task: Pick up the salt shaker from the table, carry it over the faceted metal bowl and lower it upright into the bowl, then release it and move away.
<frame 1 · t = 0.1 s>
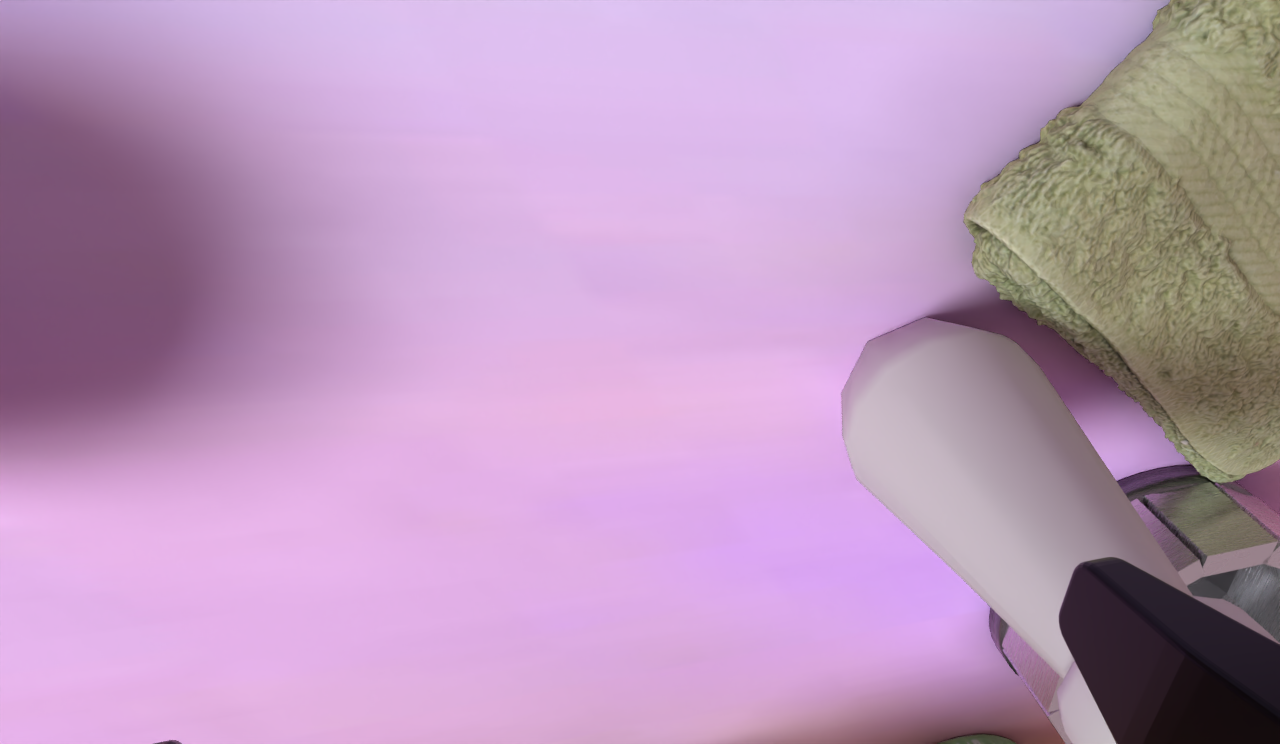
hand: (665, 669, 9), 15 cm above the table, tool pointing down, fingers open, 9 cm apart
faceted metal bowl: (1119, 575, 35), on the table
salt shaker: (903, 373, 27), on the table
washcloth: (1237, 209, 27), on the table
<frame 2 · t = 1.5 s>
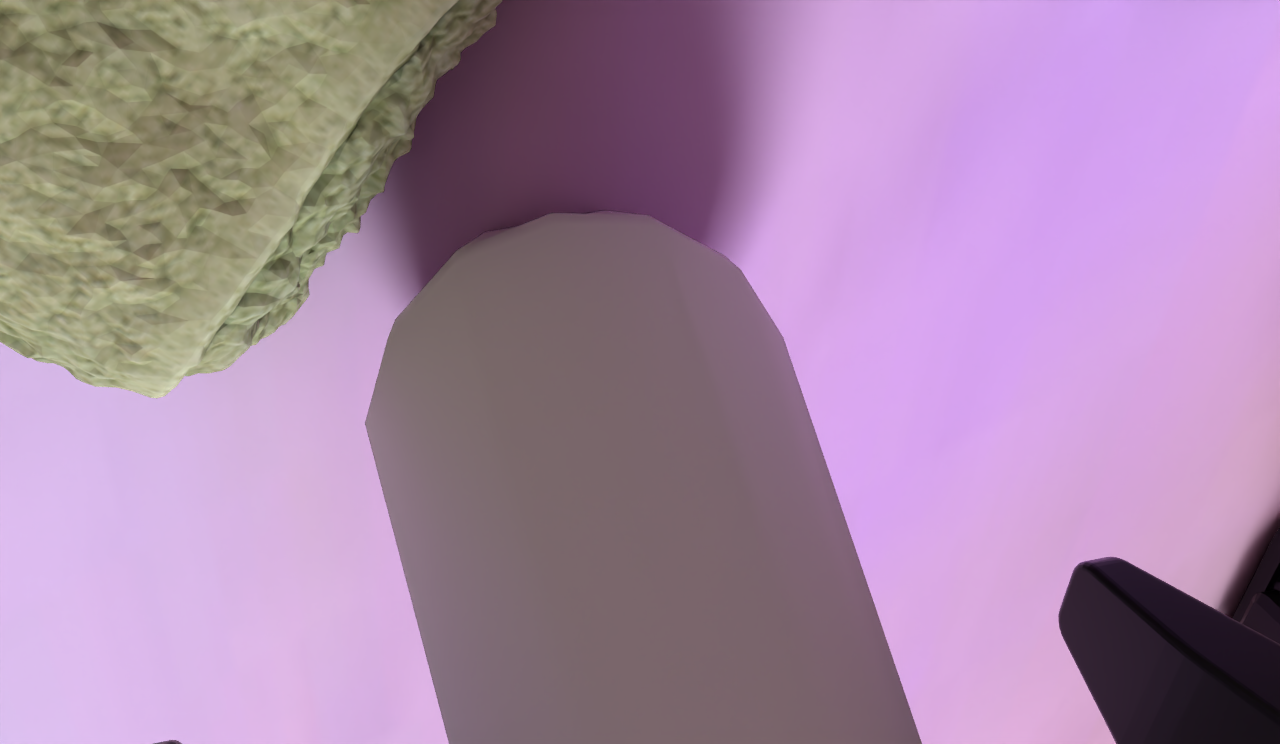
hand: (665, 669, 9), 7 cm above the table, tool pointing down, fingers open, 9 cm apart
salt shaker: (560, 322, 14), on the table
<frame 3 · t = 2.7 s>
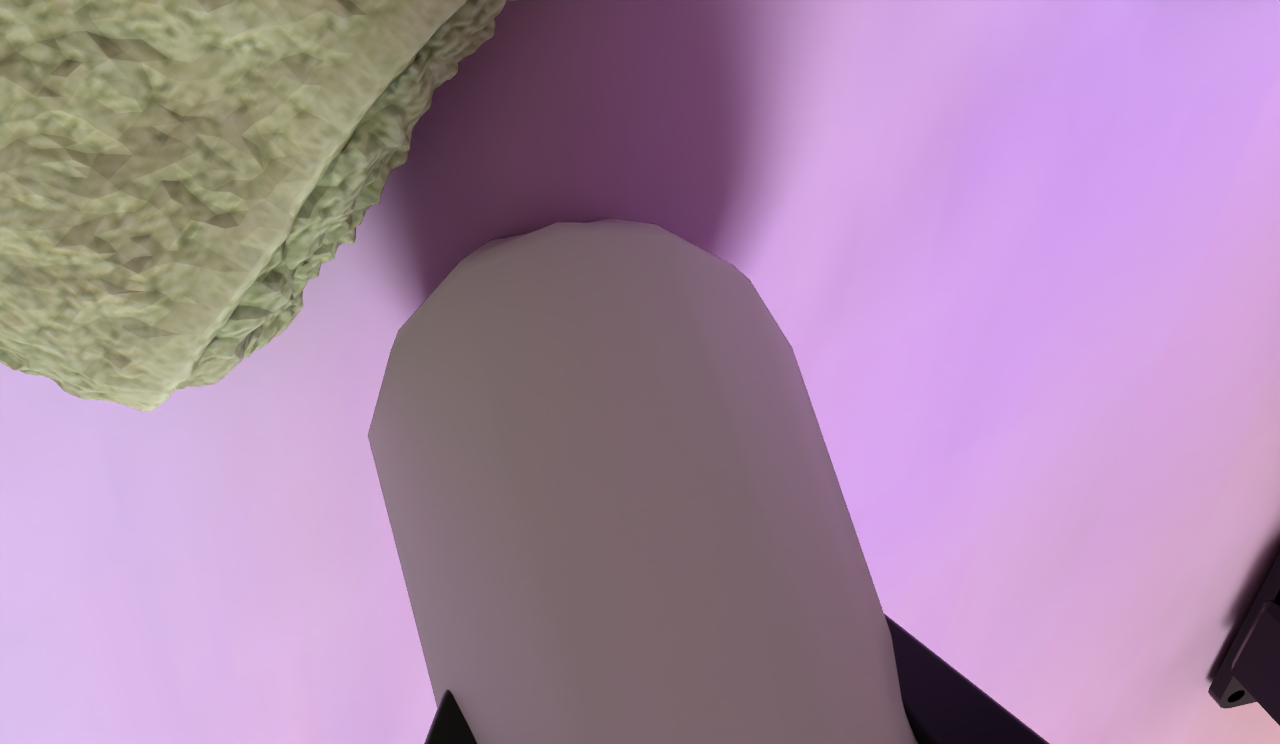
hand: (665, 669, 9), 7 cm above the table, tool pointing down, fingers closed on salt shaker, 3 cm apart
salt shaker: (565, 331, 14), on the table, touching gripper
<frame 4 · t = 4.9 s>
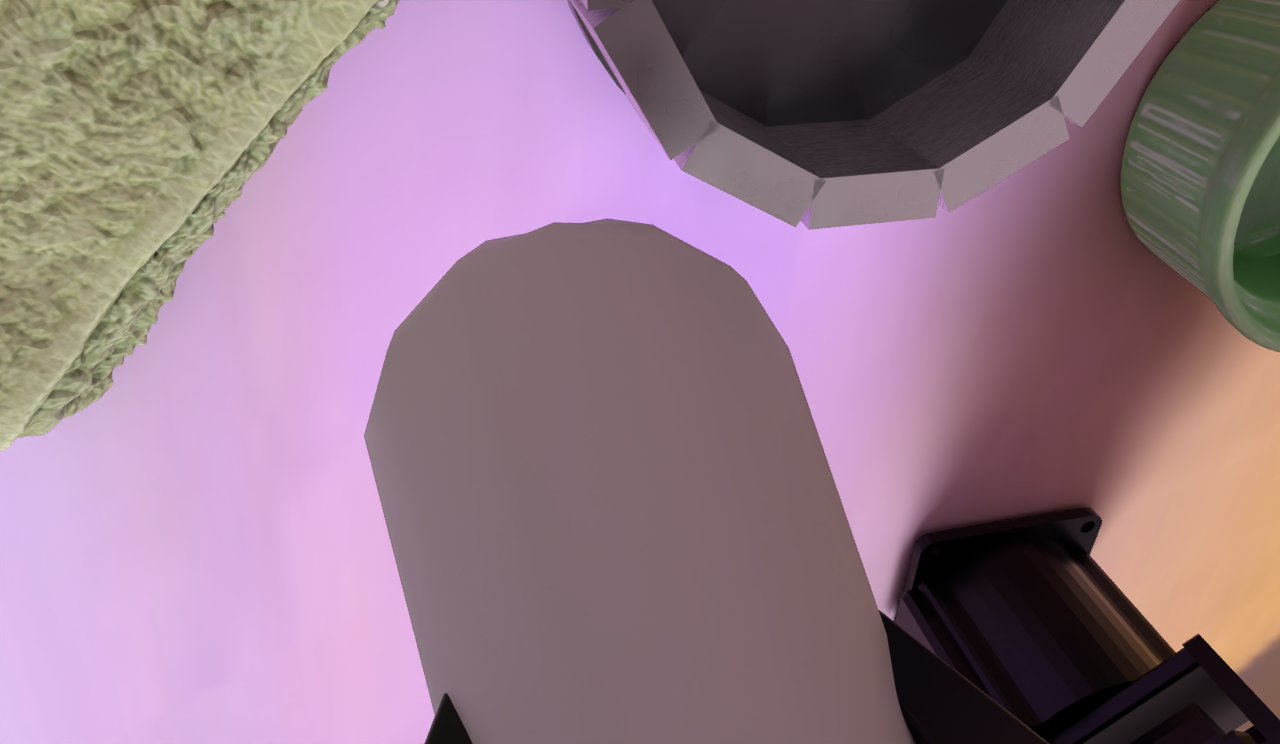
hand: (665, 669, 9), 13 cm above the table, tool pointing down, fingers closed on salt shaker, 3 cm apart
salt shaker: (562, 331, 14), point 6 cm above the table, touching gripper
ramekin: (1251, 115, 23), on the table
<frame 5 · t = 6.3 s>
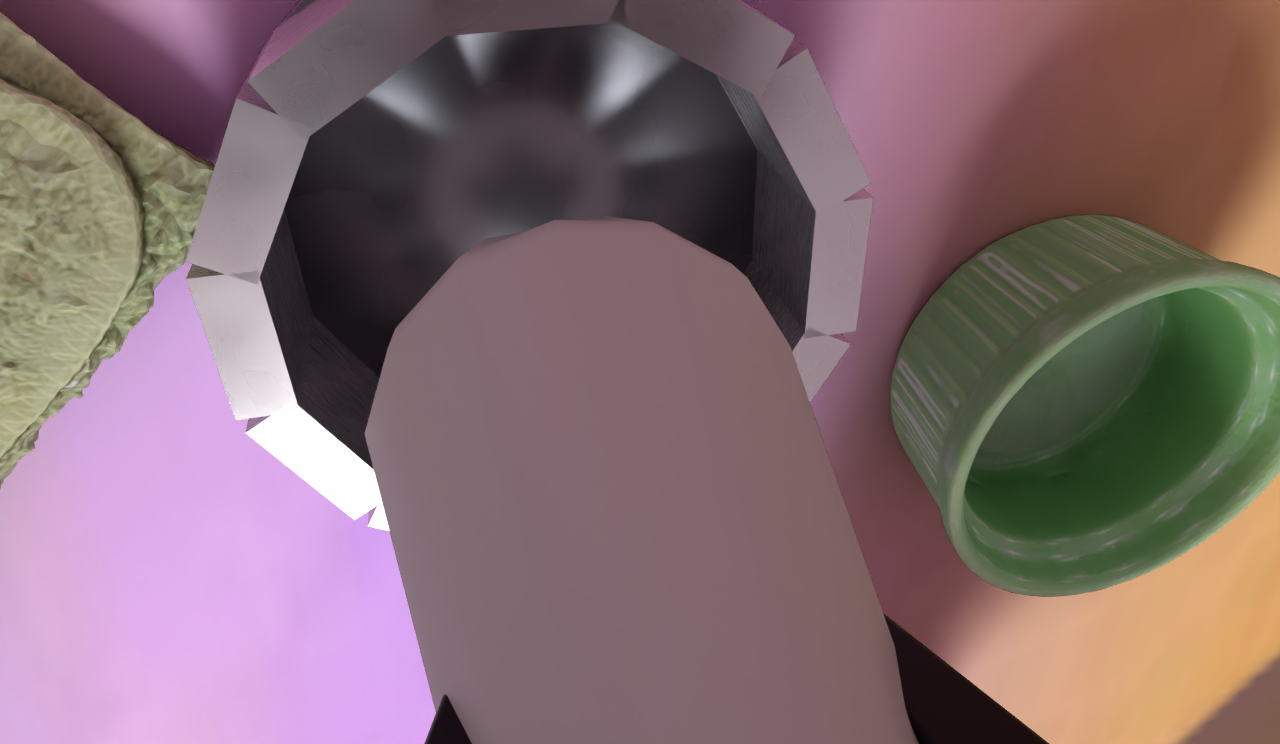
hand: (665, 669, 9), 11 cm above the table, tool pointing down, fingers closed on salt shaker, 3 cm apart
faceted metal bowl: (530, 211, 18), on the table
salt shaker: (563, 329, 14), point 5 cm above the table, touching gripper
ramekin: (1023, 347, 23), on the table
when the fingers open (9 cm above the table, at t = 7.4 s): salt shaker drops 1 cm, resting on faceted metal bowl.
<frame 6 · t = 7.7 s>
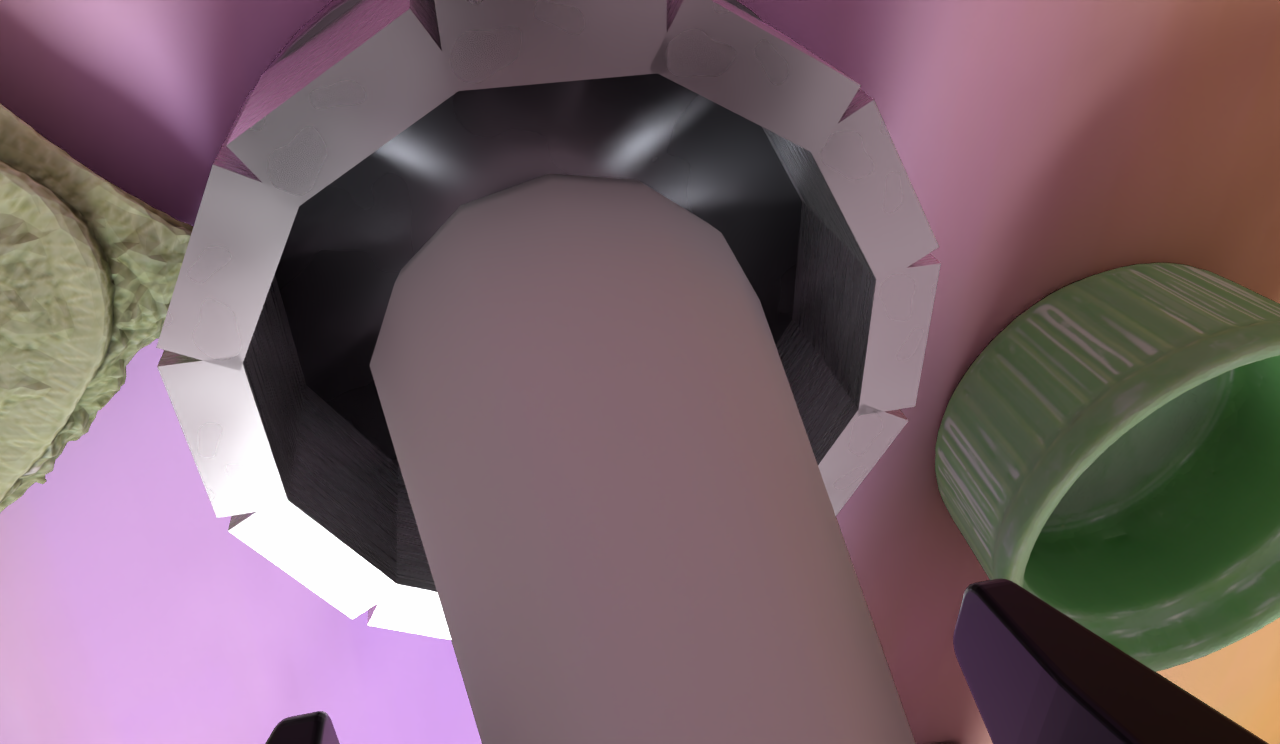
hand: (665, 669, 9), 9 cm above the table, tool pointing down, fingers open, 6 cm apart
faceted metal bowl: (547, 267, 16), on the table
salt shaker: (553, 292, 15), point 1 cm above the table, touching faceted metal bowl
ramekin: (1078, 401, 22), on the table
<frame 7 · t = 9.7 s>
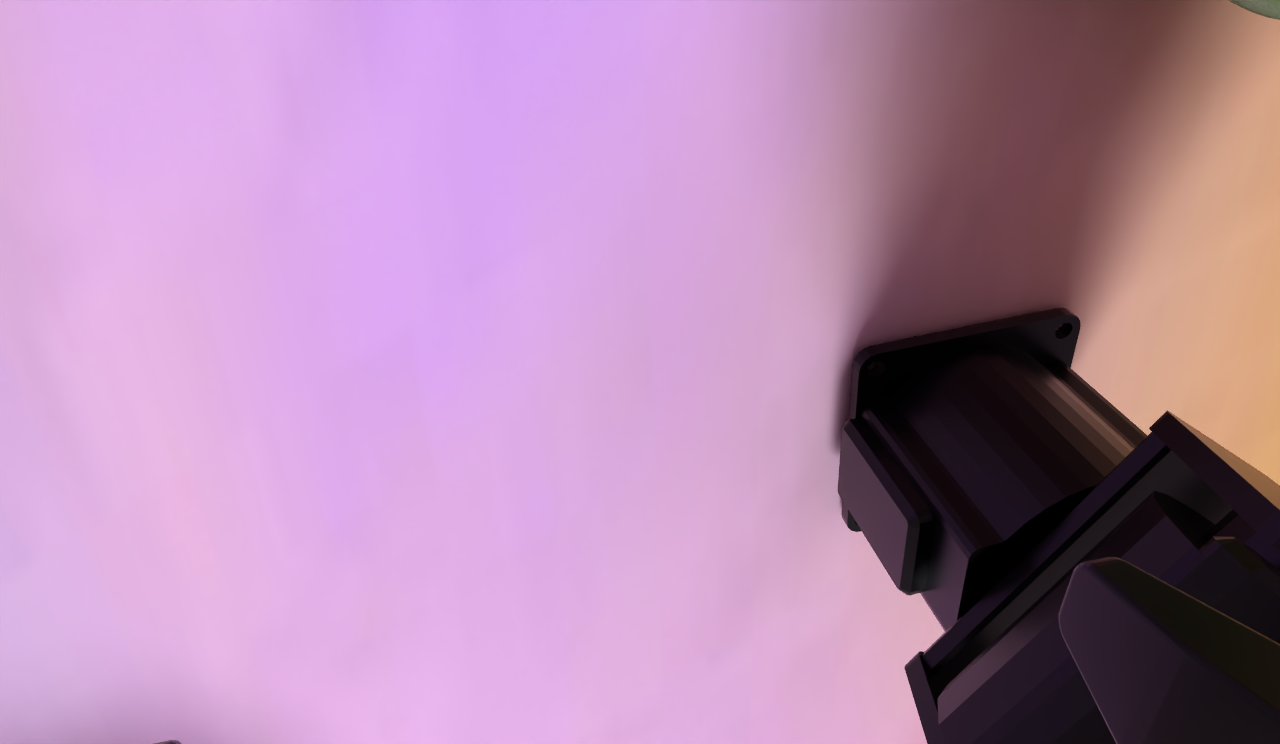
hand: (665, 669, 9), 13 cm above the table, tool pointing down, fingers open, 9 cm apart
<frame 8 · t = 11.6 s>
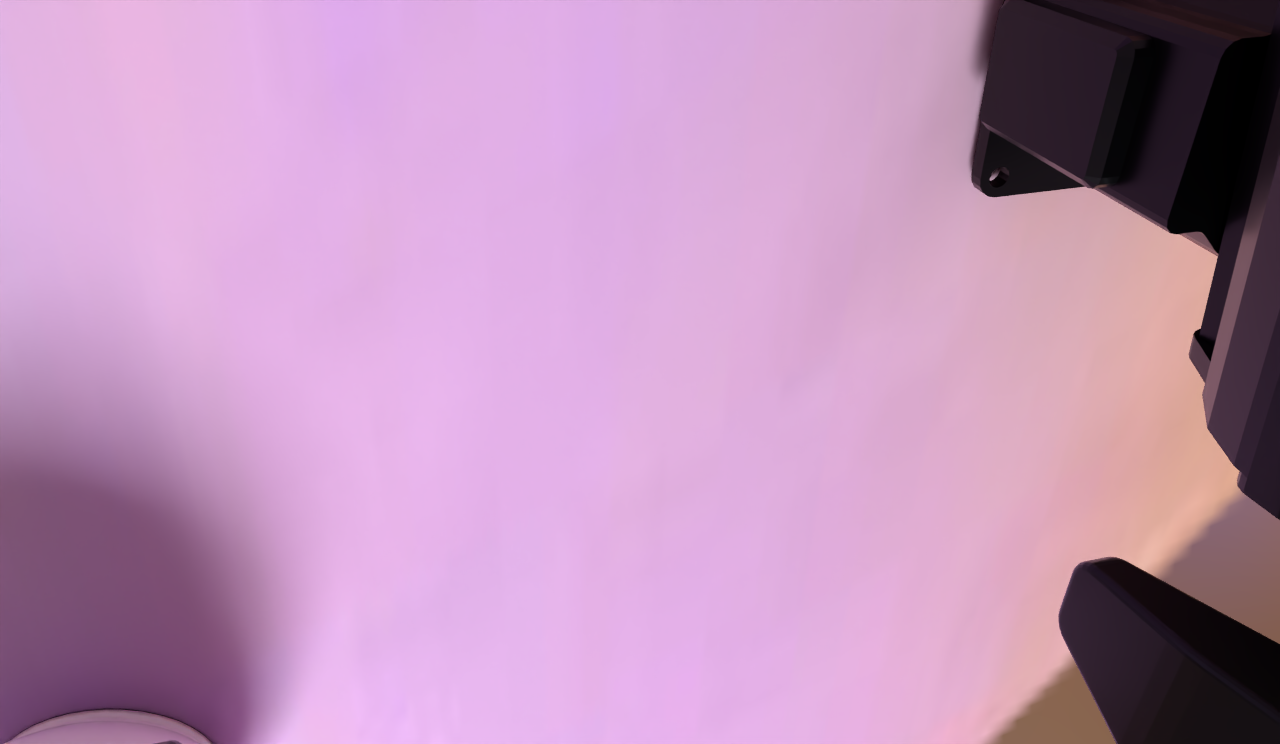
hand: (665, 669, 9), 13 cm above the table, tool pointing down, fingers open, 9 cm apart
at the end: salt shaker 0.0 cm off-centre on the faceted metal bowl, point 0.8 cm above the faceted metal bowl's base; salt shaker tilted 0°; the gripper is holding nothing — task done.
